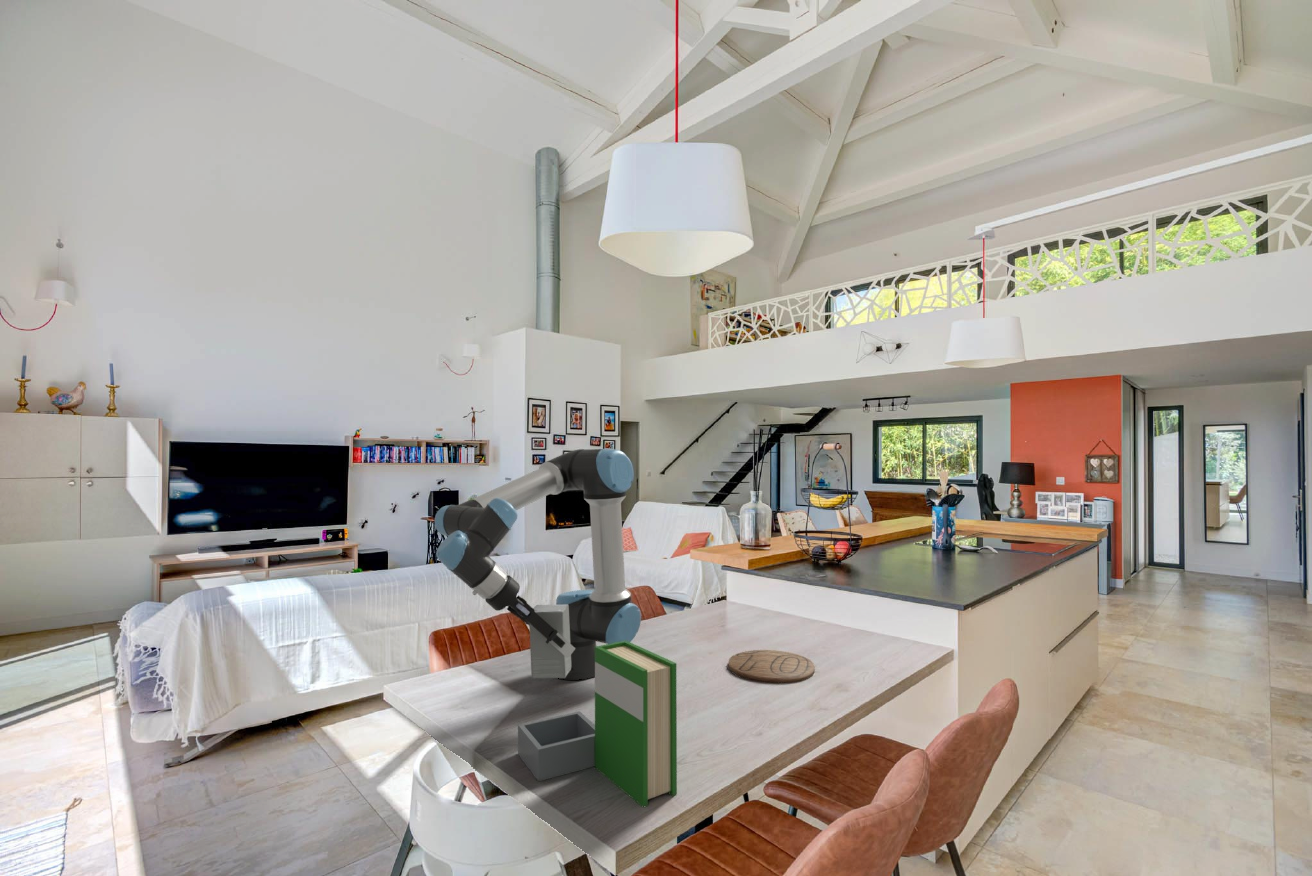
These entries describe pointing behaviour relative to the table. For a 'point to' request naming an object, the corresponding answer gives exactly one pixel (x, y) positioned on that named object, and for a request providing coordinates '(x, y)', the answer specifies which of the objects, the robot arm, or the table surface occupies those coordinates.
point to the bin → (557, 745)
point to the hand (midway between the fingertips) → (563, 647)
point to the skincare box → (545, 655)
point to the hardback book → (636, 720)
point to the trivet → (771, 666)
